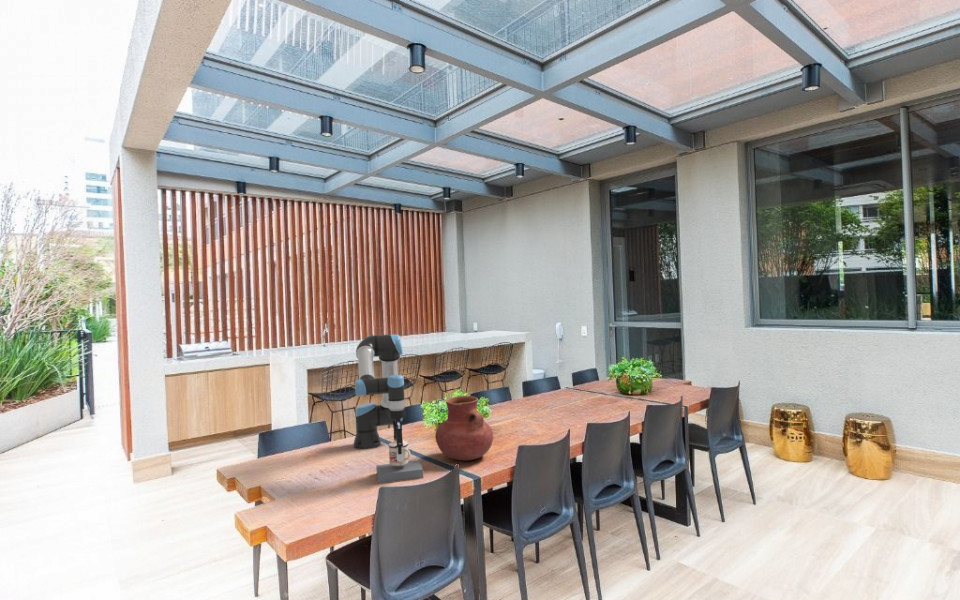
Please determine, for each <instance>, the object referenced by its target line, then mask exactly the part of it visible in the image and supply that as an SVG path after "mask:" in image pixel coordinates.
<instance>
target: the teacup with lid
mask: <svg viewBox="0 0 960 600" xmlns="http://www.w3.org/2000/svg"><path fill="white" fill-rule="evenodd" d="M400 444H401V443H400ZM395 446H397V442H396V440H394V439H393V441H391V442H389V443H388V453H389V454H388V455H389V457H388V458H389V464H390V465H393V466H401V465H405V464H407V463H408V461H409V459H410V458H411V451H410V449H409V442H408V441H406V440H403V461H397V450H396V447H395Z"/></svg>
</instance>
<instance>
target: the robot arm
mask: <svg viewBox="0 0 960 600" xmlns="http://www.w3.org/2000/svg"><path fill="white" fill-rule="evenodd" d="M403 353H404V352H403V346H402V340H401V337H400V335H399V334H392V333H390V334H378V335H377V334H376V335H373V334H372V335H369V336H367V337H364V338H363V339H362V340H361V341H360V342H359V343H358V345H357V347H356V349H355V356H356V358H357V362H358V366H357V367H358V379H356V380H355V381H354V383H355V386H354V387H355V390H354V391H355V395H356V396H358V397H359V396H371V395H382V400H381V401H380V403H379V404H378V405H377V403H376V402H369V403H365V404H361V405H359V406H357V407H356V408H355V416H354V417H355V429H356V431H355V433H356V434H355V436H354V440H353V448H354V449H356V450H371V449H375V448H378V447H380V446H381V444H382V439H381V437H380V434H379V432H378V427H384V426H392V427H393V428H392V429H393V441H394V440H396V442H397V446H395V447H396V450H397V461H403V441H404V439H403V419H404V418H405V417H406V399H405V380H404V375H400V374H398V373H399V372H398V361H399V360H400V359H401V356H402V355H404V354H403ZM375 357H378V360H379V361H380V362H381V377H380V378H379V377H378V378H376V377H375V367H374V366H375V365H374V358H375ZM400 443H401V444H400Z"/></svg>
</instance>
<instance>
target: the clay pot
mask: <svg viewBox="0 0 960 600" xmlns="http://www.w3.org/2000/svg"><path fill="white" fill-rule="evenodd" d="M478 401H479V398H478V397H475V396H473V395H459V396H453V397H449V398H447V399H446V400H445V403H446V407H447V418H446V420H444V421H443V422H441V423H440V424H439V425H438V426H437V428H436V431H435V441H436V443H437V444H436V445H437V446H438V449H439V450H440V452H441V453H442V454H444V456H446V457H448V458H450V459H453V460H457V461H472V460H473V461H474V460H477V459H479V458H481V457H483V456H485V455H486V453H488V451H489V450H490V449H491V447H492V445H493V441H494V432H493V430H492V427H491V426H490V424H489V423H487V422H486V421H485V419H484V415H483V414H482V413H481V412H480V411H478V409H477V408H478Z"/></svg>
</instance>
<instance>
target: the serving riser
mask: <svg viewBox="0 0 960 600" xmlns="http://www.w3.org/2000/svg"><path fill="white" fill-rule="evenodd" d="M375 470H376V476H377V483H378V484H380V485H381V484H385V483H393V482H402V481H407V480H408V481H409V480H417V479H423V478H424V469H423V466H422V464H421V463H420V460H419V459H418V460H411V461H410V460H408V463H407V464H405V465H401V466H393V465H390V463H385V464H379V465H376V469H375Z"/></svg>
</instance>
